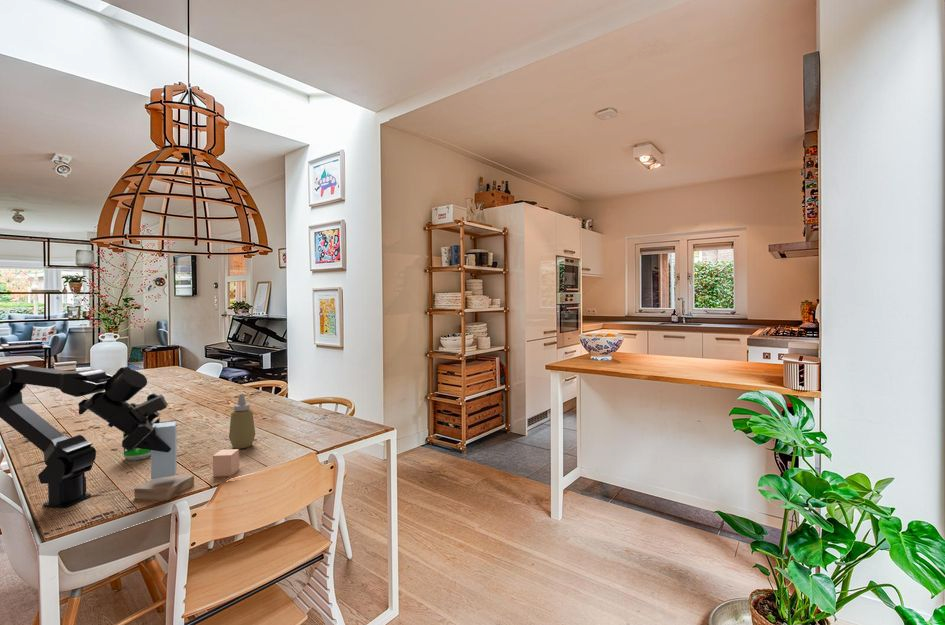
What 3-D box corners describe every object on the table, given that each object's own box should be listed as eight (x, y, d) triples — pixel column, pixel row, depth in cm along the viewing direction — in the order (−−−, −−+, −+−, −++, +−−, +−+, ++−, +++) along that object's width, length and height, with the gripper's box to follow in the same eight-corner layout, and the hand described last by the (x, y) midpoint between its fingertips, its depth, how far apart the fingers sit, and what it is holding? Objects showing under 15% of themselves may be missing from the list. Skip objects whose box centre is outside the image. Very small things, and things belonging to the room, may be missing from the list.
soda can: (122, 457, 138) (121, 419, 138) (151, 451, 143) (150, 415, 143) (125, 463, 133) (124, 424, 132) (155, 457, 138) (154, 419, 137)
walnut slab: (167, 501, 108) (167, 490, 108) (134, 500, 109) (134, 488, 109) (194, 486, 117) (193, 475, 117) (163, 485, 118) (163, 474, 118)
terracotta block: (231, 475, 123) (231, 455, 123) (213, 476, 123) (212, 455, 122) (239, 469, 128) (238, 449, 128) (221, 469, 127) (221, 449, 127)
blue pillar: (151, 479, 109) (150, 428, 109) (153, 472, 114) (153, 423, 113) (174, 475, 112) (174, 425, 112) (176, 469, 116) (176, 421, 116)
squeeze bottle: (231, 444, 150) (230, 392, 150) (256, 441, 153) (256, 390, 153) (227, 451, 143) (226, 397, 142) (254, 448, 146) (253, 395, 145)
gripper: (138, 393, 102) (194, 432, 108) (149, 380, 118) (197, 415, 124) (95, 431, 98) (156, 469, 104) (112, 412, 114) (164, 446, 120)
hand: (170, 447), depth 113 cm, fingers closed on blue pillar, 5 cm apart
